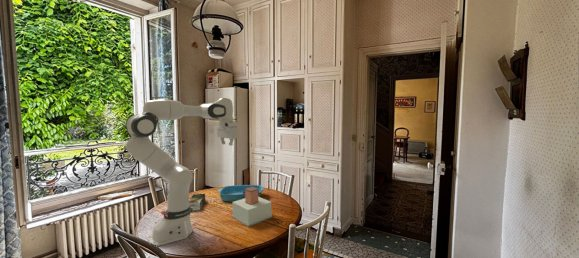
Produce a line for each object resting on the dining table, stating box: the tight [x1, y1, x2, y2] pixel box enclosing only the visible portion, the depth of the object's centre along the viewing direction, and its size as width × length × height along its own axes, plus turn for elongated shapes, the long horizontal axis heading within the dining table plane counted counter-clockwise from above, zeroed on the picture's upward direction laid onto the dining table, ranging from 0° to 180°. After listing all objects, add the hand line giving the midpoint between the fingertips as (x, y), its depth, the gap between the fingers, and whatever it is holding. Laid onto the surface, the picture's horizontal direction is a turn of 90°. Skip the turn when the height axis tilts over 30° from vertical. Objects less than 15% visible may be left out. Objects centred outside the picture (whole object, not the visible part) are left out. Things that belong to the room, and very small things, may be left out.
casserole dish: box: [217, 184, 265, 202], centre depth 189 cm, size 37×22×7 cm, turn 92°
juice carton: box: [189, 193, 206, 212], centre depth 172 cm, size 20×10×6 cm, turn 10°
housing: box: [231, 196, 273, 227], centre depth 152 cm, size 19×19×10 cm
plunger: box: [245, 187, 258, 205], centre depth 152 cm, size 6×6×12 cm
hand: (227, 144), depth 151 cm, fingers open, 8 cm apart
